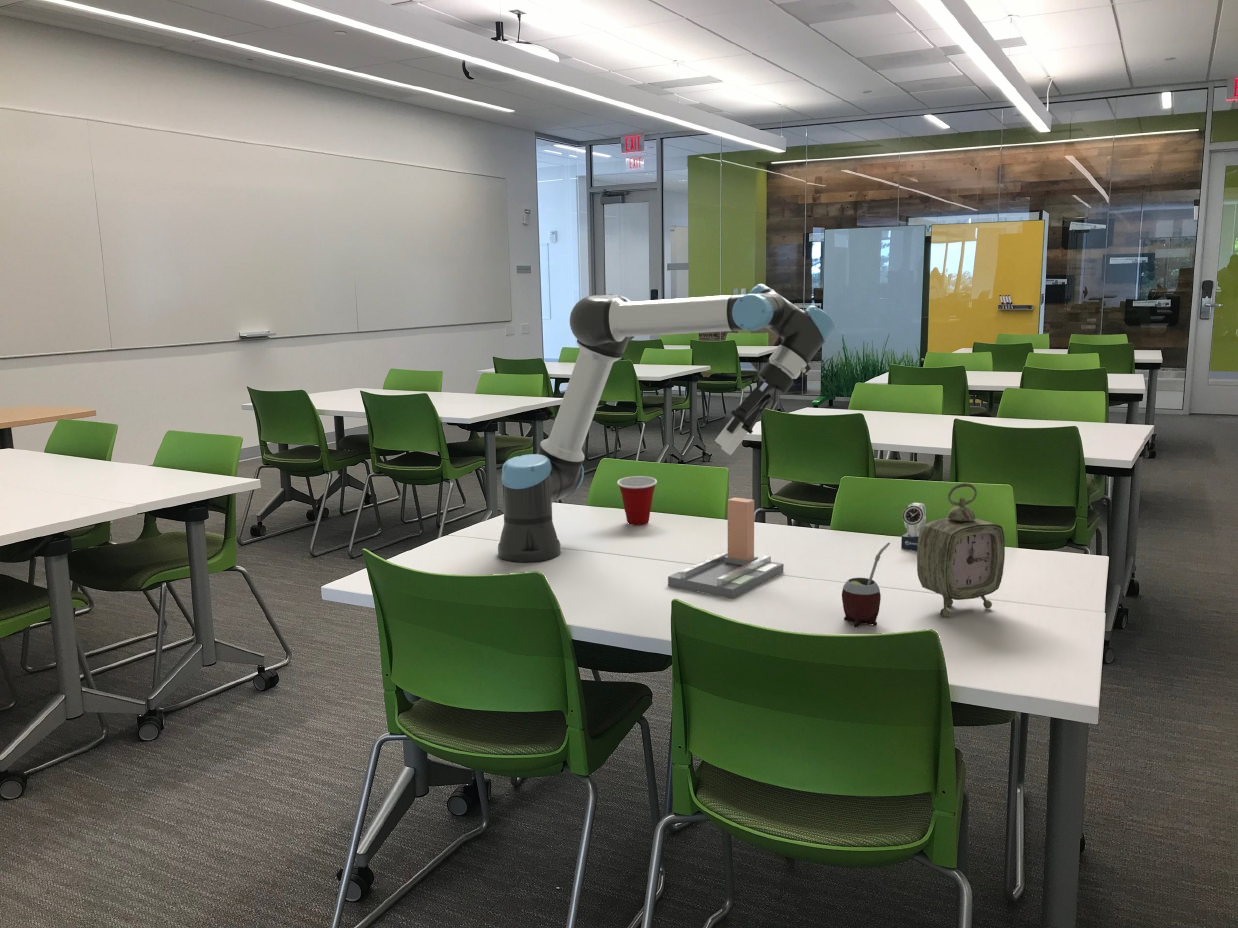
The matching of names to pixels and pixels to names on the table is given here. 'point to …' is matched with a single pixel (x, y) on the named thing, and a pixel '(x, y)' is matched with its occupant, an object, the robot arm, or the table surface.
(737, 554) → the switch lever
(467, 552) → the table surface
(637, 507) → the plastic cup
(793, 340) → the robot arm
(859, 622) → the mate gourd
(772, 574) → the switch panel
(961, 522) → the tabletop clock
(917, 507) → the watch
